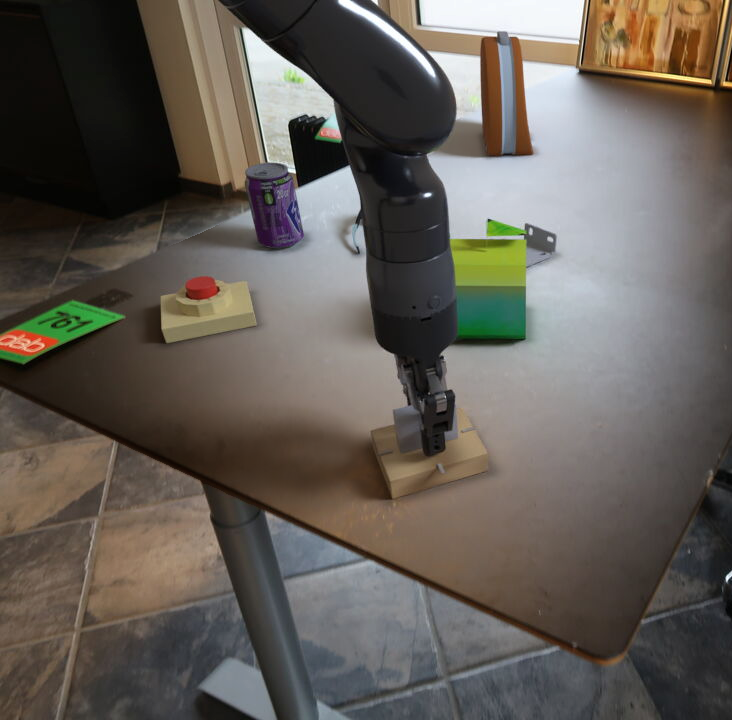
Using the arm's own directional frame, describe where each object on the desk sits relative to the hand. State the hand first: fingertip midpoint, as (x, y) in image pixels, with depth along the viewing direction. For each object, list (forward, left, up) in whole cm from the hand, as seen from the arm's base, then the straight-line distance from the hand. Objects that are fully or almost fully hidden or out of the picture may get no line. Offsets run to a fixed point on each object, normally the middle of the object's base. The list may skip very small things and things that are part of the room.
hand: (427, 437), depth 71 cm
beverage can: (-7, +58, -3) cm, 59 cm away
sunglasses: (+11, +53, -3) cm, 54 cm away
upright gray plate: (0, 0, 0) cm, 0 cm away
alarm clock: (+45, +89, -3) cm, 100 cm away
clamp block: (0, 0, -3) cm, 3 cm away
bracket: (+27, +38, -3) cm, 47 cm away
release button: (-19, +38, +1) cm, 42 cm away
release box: (-19, +38, -3) cm, 43 cm away
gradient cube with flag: (+15, +22, -3) cm, 27 cm away
